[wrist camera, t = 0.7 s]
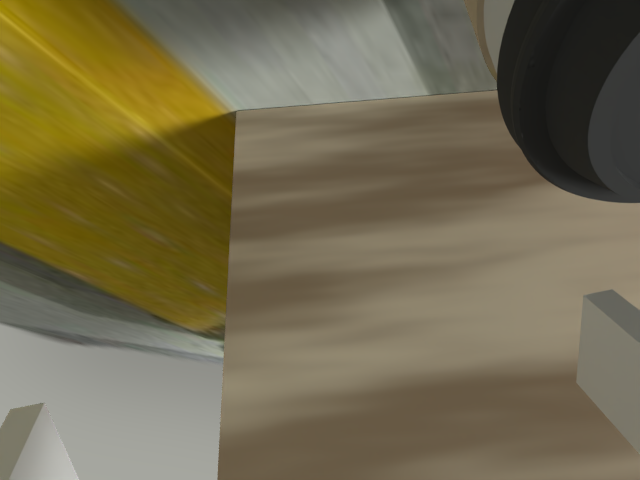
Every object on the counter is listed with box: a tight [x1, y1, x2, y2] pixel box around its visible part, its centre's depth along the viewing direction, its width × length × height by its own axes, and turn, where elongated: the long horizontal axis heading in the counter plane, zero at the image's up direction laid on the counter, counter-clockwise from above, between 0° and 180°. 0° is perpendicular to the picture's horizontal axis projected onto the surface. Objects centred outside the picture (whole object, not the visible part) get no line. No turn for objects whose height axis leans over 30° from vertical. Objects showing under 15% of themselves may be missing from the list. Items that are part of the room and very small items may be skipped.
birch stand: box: [218, 90, 640, 480], centre depth 22 cm, size 12×18×30 cm, turn 93°
